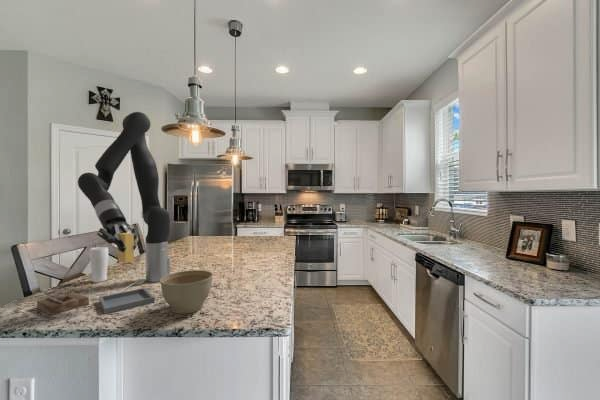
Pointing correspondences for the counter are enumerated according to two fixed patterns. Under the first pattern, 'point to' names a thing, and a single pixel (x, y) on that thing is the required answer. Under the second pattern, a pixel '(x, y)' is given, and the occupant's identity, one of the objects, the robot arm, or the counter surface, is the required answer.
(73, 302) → the brown wooden compartment tray
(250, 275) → the counter surface
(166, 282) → the planter bowl
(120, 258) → the yellow rectangular block
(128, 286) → the spoon
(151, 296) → the tray
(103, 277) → the drinking glass
